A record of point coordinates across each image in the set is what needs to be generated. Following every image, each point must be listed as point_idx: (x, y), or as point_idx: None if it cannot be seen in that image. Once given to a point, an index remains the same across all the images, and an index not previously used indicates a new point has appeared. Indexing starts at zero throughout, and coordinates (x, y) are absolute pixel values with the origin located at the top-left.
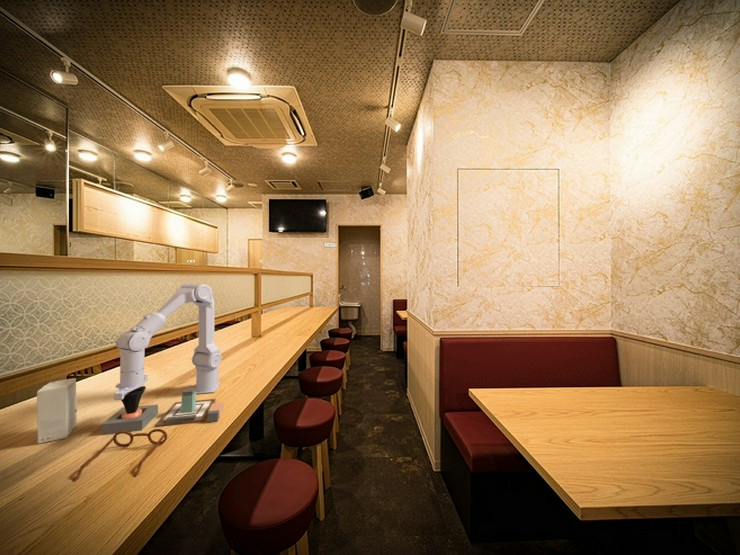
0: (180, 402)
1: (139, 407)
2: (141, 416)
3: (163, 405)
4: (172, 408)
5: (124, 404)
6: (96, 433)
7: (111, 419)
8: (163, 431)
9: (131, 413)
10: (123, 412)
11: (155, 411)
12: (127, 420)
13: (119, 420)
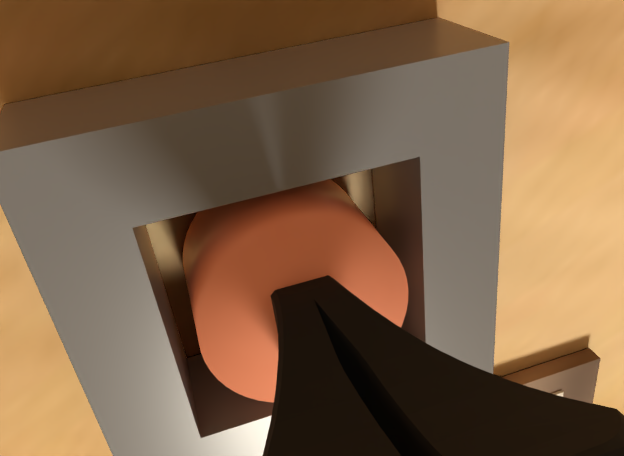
0: (585, 394)
1: (461, 268)
2: (226, 449)
3: (595, 269)
4: None
5: (276, 400)
6: (21, 10)
7: (144, 177)
8: None
9: (275, 339)
10: (359, 167)
11: None
12: (125, 391)
13: (116, 309)
